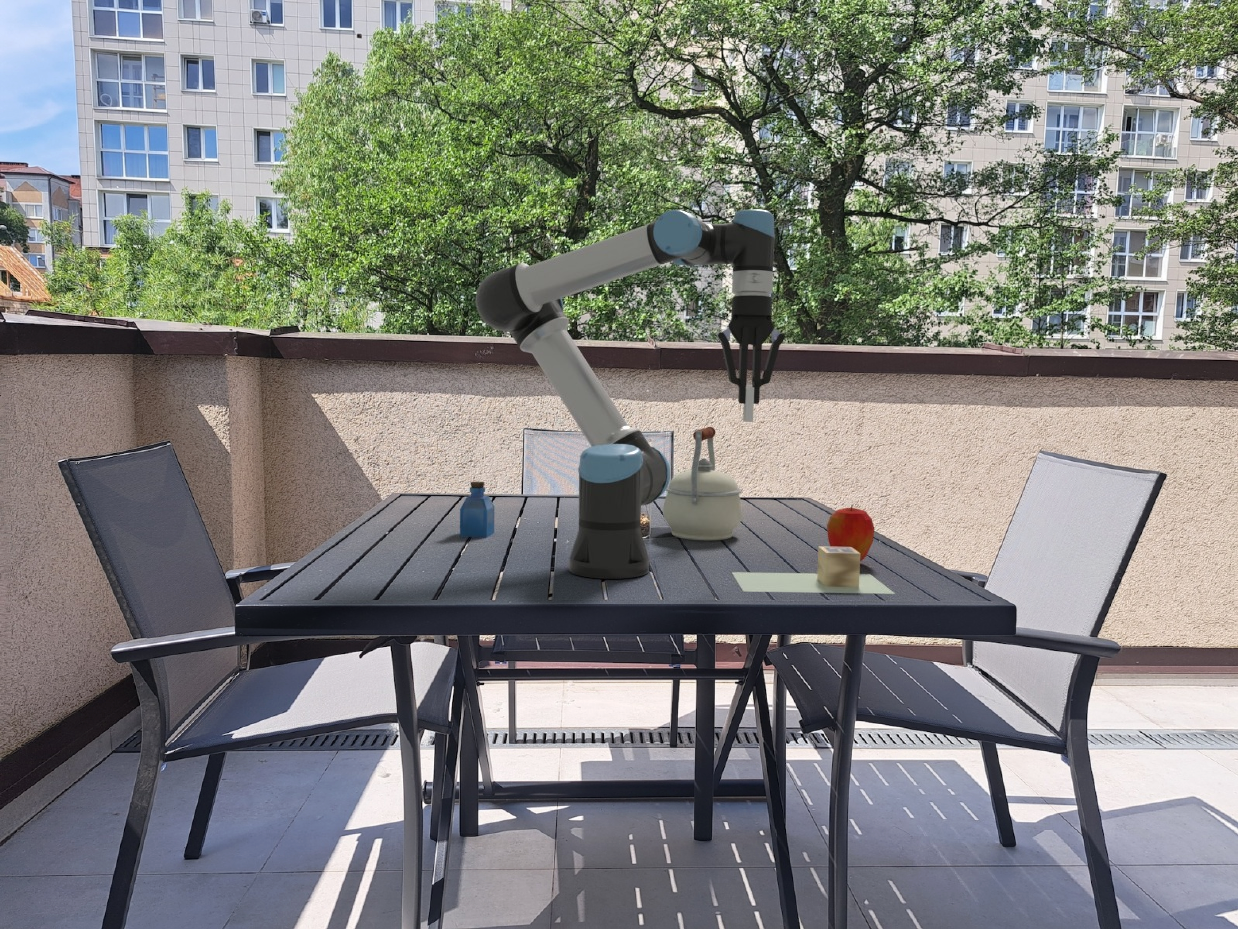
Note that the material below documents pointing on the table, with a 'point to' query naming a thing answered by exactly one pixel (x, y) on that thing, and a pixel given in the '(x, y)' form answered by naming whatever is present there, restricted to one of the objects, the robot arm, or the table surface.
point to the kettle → (703, 498)
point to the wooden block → (838, 566)
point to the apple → (851, 530)
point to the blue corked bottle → (477, 513)
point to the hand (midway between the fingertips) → (748, 421)
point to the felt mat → (803, 583)
